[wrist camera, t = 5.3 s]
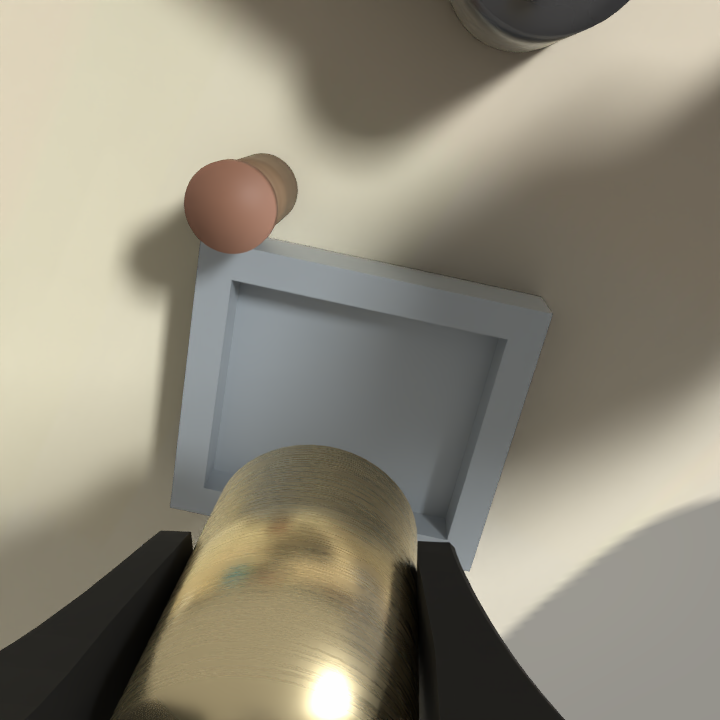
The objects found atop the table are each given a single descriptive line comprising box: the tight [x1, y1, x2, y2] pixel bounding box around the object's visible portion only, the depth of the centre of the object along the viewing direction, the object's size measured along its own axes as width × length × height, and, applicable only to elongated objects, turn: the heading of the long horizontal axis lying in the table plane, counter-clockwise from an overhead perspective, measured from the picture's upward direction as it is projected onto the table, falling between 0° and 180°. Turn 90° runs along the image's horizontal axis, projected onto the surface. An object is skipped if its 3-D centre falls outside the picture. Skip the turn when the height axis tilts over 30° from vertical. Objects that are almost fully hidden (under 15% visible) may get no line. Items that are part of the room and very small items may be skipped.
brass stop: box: [110, 445, 419, 720], centre depth 12 cm, size 4×4×6 cm
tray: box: [170, 238, 553, 571], centre depth 21 cm, size 10×9×2 cm
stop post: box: [184, 153, 298, 254], centre depth 18 cm, size 2×2×4 cm
